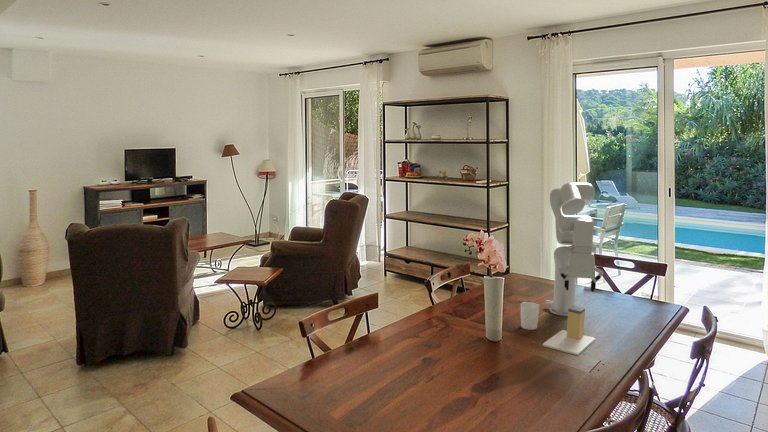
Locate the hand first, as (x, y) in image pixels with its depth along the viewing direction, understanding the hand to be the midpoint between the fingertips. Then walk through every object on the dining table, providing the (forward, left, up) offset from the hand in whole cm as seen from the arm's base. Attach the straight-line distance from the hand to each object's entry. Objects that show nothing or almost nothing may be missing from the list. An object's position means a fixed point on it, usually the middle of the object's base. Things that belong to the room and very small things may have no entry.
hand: (579, 290), depth 209 cm
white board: (0, -8, -20) cm, 22 cm away
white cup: (-20, -2, -20) cm, 28 cm away
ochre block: (0, -2, -19) cm, 19 cm away
